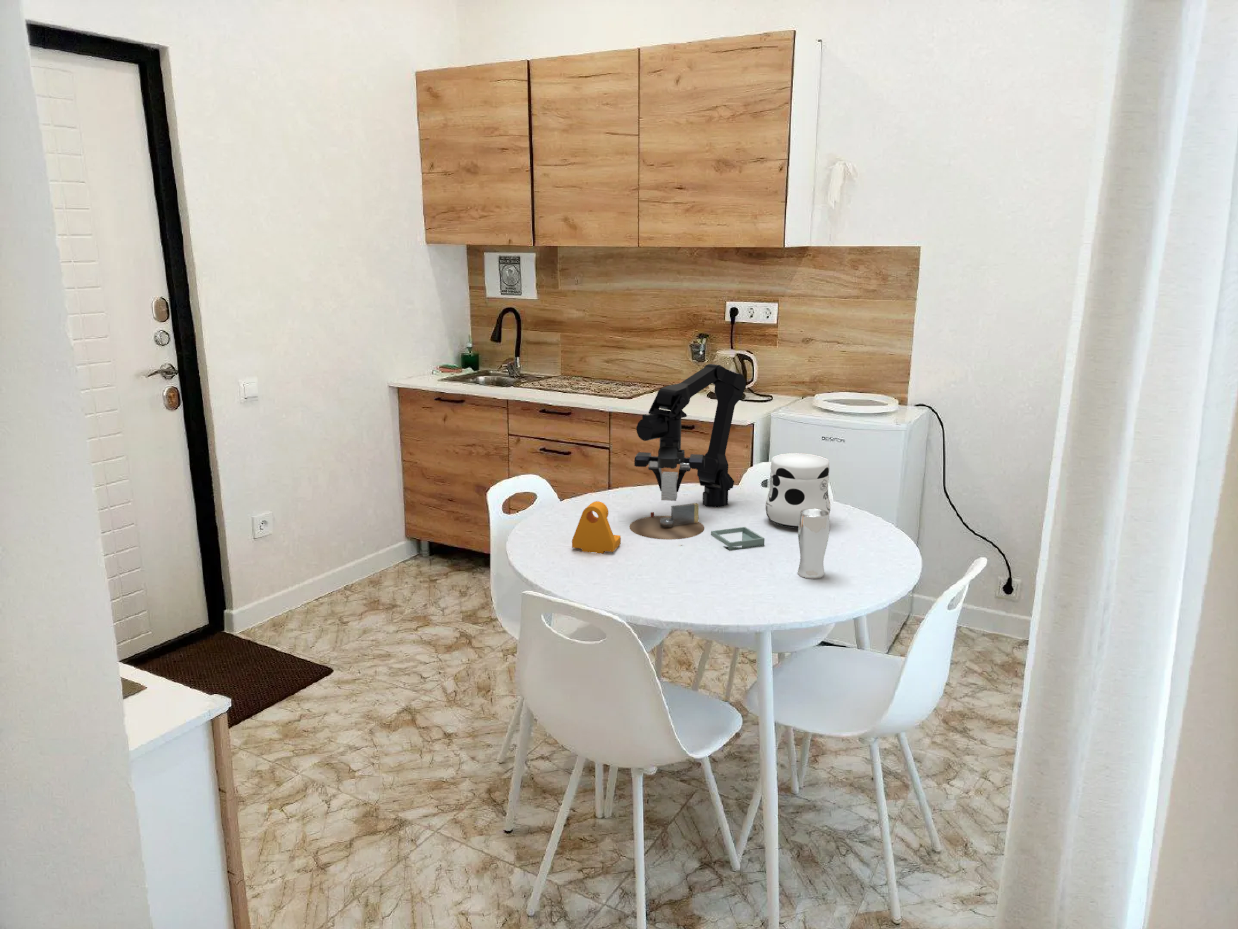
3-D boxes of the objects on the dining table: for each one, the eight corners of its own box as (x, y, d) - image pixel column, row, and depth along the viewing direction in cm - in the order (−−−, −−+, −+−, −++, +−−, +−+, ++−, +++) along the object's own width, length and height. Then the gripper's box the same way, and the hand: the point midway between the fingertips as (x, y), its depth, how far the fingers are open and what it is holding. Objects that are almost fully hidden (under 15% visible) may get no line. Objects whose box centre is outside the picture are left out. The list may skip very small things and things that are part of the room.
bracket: (621, 545, 221) (621, 500, 218) (613, 555, 214) (613, 508, 211) (581, 541, 224) (581, 496, 221) (572, 550, 217) (571, 504, 214)
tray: (744, 534, 229) (744, 526, 229) (764, 545, 220) (764, 538, 220) (710, 538, 226) (711, 531, 225) (729, 550, 217) (729, 543, 216)
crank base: (684, 515, 245) (684, 508, 244) (717, 537, 227) (717, 529, 226) (618, 523, 238) (618, 516, 237) (647, 546, 219) (647, 538, 219)
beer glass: (793, 568, 205) (796, 507, 201) (823, 569, 205) (827, 508, 201) (798, 579, 198) (801, 516, 195) (829, 580, 198) (833, 517, 194)
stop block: (662, 496, 239) (663, 471, 238) (677, 496, 239) (677, 472, 237) (661, 500, 235) (661, 475, 234) (675, 500, 235) (676, 475, 233)
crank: (663, 528, 229) (663, 509, 228) (657, 524, 233) (658, 506, 231) (700, 523, 233) (700, 505, 232) (694, 519, 237) (694, 501, 235)
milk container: (842, 525, 236) (847, 461, 232) (797, 537, 227) (800, 470, 222) (796, 510, 250) (799, 449, 246) (751, 520, 241) (754, 457, 236)
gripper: (631, 440, 226) (631, 498, 230) (703, 442, 224) (702, 501, 227) (637, 431, 237) (636, 486, 241) (705, 433, 234) (704, 489, 238)
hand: (669, 491), depth 237 cm, fingers closed on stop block, 4 cm apart
